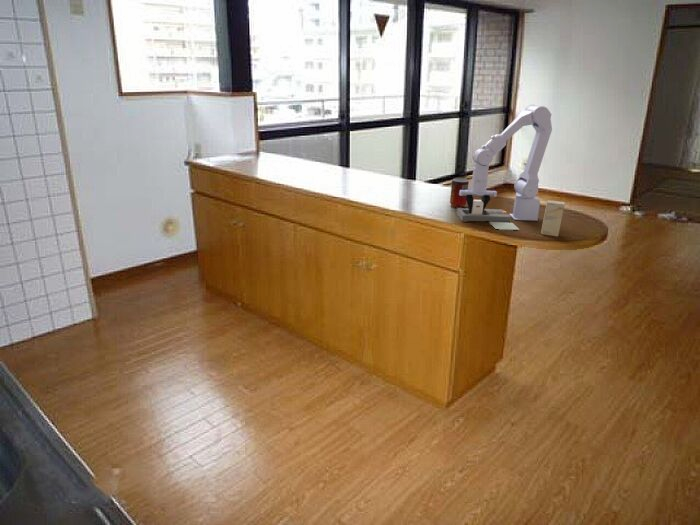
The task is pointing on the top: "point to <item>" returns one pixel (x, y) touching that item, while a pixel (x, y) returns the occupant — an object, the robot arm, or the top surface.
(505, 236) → the top surface
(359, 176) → the top surface
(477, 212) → the charger
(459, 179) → the soda can
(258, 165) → the top surface
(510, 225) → the mat
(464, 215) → the grey tray
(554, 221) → the skincare box
